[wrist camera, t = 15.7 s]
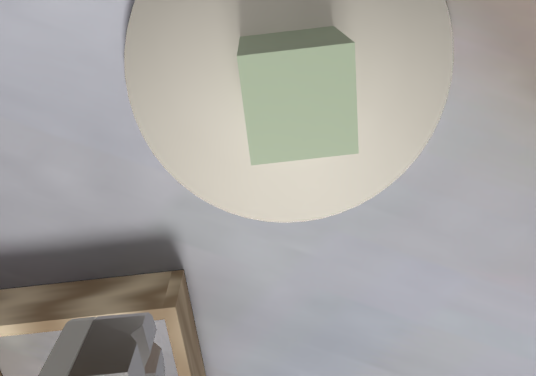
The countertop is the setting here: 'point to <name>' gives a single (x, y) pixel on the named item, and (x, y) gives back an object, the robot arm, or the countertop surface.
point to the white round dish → (231, 104)
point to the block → (299, 94)
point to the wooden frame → (108, 309)
